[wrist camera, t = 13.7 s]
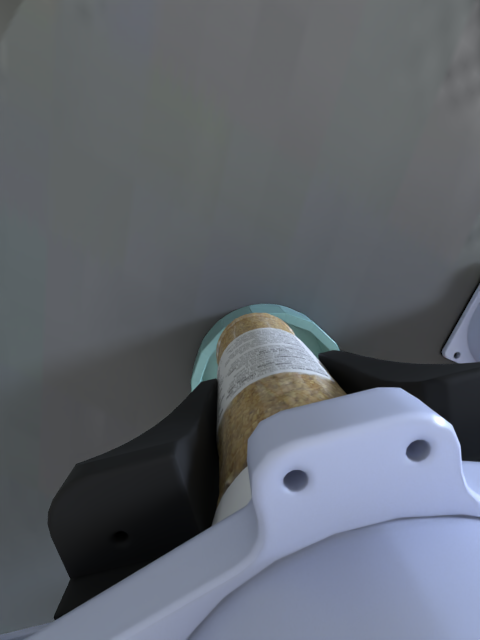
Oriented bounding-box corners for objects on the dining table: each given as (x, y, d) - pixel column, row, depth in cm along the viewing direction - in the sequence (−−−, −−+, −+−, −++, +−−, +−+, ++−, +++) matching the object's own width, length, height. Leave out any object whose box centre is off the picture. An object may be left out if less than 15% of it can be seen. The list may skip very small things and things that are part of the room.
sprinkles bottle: (292, 389, 18) (483, 748, 5) (212, 387, 18) (200, 767, 5) (300, 311, 17) (564, 510, 4) (216, 306, 17) (215, 510, 4)
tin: (330, 300, 23) (350, 309, 19) (327, 425, 25) (344, 453, 22) (190, 307, 22) (185, 318, 19) (200, 434, 25) (197, 465, 21)
